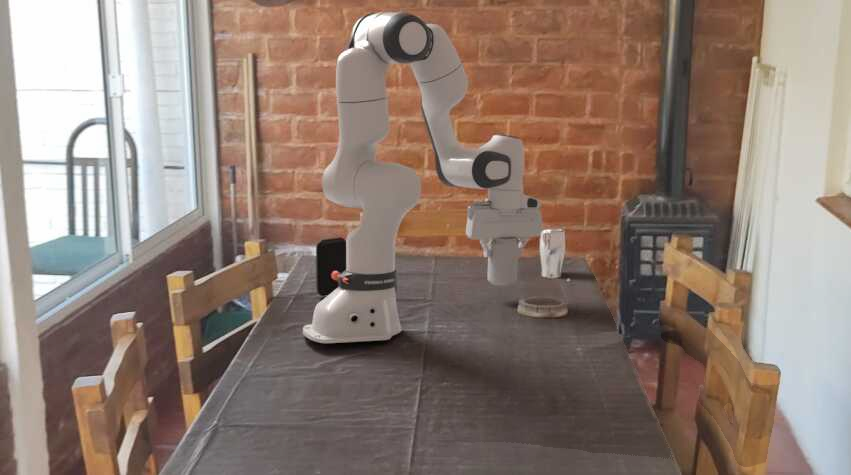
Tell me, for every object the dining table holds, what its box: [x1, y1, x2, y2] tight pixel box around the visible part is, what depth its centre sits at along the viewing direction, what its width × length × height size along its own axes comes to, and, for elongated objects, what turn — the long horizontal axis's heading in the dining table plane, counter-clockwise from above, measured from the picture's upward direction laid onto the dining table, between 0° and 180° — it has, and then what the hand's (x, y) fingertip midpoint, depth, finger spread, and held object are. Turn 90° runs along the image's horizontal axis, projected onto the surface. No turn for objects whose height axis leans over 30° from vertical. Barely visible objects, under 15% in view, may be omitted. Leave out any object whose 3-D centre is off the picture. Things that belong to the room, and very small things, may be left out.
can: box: [486, 237, 519, 287], centre depth 226 cm, size 8×8×12 cm
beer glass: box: [539, 228, 566, 279], centre depth 250 cm, size 7×7×15 cm
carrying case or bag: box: [315, 237, 346, 297], centre depth 235 cm, size 11×3×15 cm, turn 135°
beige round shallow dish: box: [517, 295, 568, 319], centre depth 219 cm, size 12×12×2 cm
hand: (503, 255), depth 226 cm, fingers closed on can, 7 cm apart
